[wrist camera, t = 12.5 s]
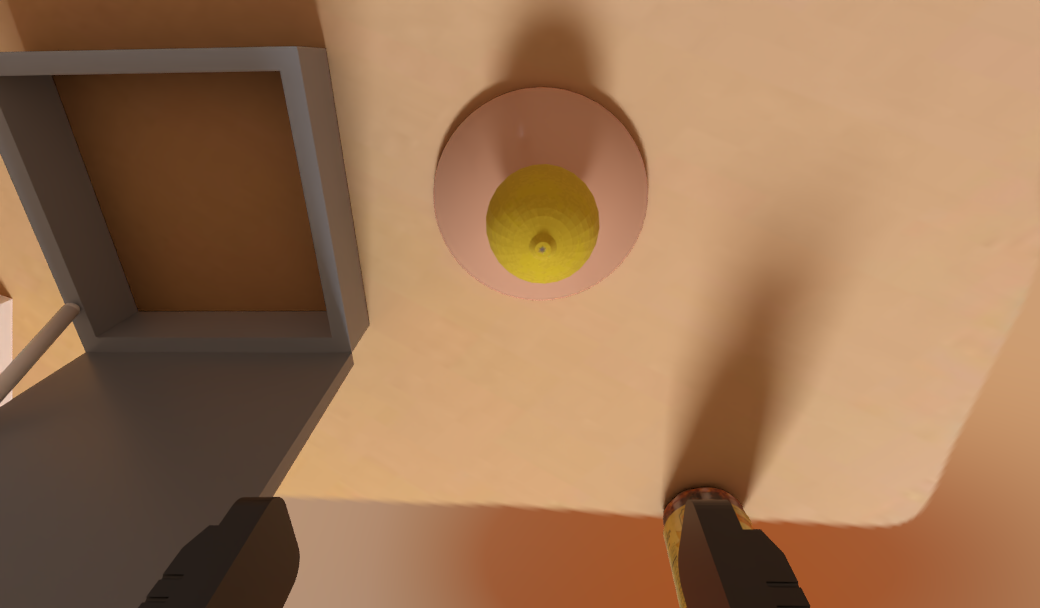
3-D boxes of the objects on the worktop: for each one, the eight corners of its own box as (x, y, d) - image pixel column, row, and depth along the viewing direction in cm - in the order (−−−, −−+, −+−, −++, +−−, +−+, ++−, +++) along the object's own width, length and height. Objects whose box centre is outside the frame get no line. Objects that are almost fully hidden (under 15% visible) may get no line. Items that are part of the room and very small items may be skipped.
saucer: (426, 88, 27) (423, 89, 27) (655, 84, 27) (657, 85, 26) (443, 296, 32) (442, 300, 32) (637, 296, 32) (638, 300, 31)
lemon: (555, 131, 27) (560, 156, 20) (609, 214, 29) (633, 265, 22) (473, 191, 29) (450, 234, 21) (529, 267, 31) (527, 330, 23)
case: (25, 54, 27) (-950, 34, 9) (325, 48, 26) (-103, 15, 9) (132, 335, 34) (-305, 628, 16) (371, 336, 33) (185, 638, 16)
